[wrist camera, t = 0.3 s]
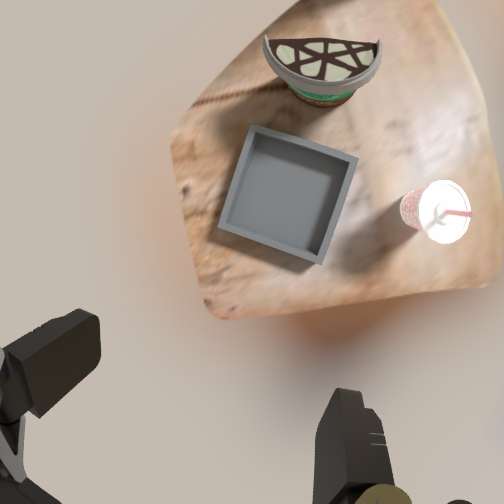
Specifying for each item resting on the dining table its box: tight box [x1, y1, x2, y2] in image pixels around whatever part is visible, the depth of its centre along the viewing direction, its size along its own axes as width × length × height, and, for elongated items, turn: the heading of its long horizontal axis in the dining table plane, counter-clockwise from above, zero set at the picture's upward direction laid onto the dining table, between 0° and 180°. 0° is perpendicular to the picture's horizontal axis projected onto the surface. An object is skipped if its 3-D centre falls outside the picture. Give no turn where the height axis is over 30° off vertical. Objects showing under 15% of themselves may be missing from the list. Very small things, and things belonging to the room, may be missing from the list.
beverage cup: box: [400, 180, 473, 243], centre depth 26 cm, size 6×6×14 cm
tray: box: [217, 124, 359, 265], centre depth 34 cm, size 13×13×3 cm
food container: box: [263, 35, 382, 108], centre depth 28 cm, size 12×6×10 cm, turn 89°
